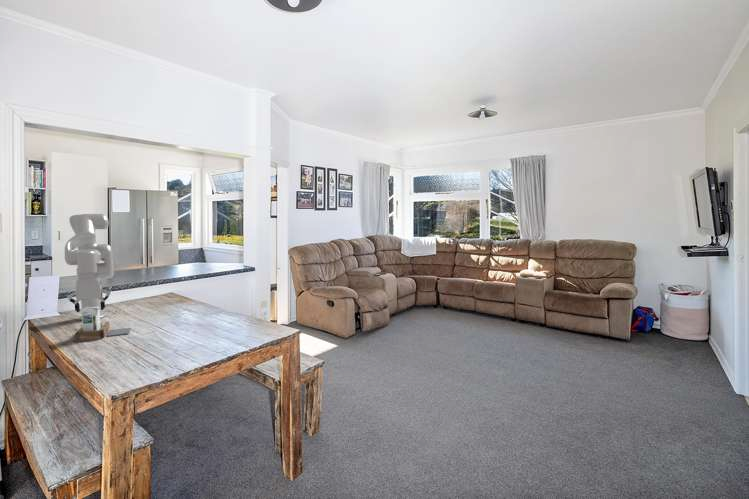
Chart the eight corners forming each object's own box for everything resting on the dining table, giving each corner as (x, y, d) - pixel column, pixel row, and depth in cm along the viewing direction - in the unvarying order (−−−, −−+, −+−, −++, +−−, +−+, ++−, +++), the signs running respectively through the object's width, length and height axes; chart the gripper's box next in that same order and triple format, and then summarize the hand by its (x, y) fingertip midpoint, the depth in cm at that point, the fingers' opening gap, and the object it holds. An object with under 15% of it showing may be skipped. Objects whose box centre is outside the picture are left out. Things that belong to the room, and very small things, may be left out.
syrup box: (83, 339, 186) (80, 309, 184) (88, 335, 192) (86, 306, 190) (96, 338, 187) (94, 309, 186) (101, 334, 193) (99, 306, 192)
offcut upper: (88, 327, 196) (87, 323, 195) (102, 325, 198) (102, 321, 198) (86, 329, 191) (85, 325, 191) (100, 328, 194) (100, 324, 194)
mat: (110, 331, 198) (110, 330, 198) (130, 328, 202) (130, 327, 202) (107, 336, 189) (107, 335, 189) (128, 334, 193) (128, 332, 193)
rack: (83, 332, 196) (83, 324, 196) (109, 329, 201) (108, 321, 201) (75, 341, 182) (75, 333, 182) (103, 338, 187) (103, 330, 187)
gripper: (110, 273, 193) (112, 307, 195) (67, 276, 186) (70, 311, 187) (107, 275, 187) (110, 310, 188) (63, 278, 179) (66, 314, 180)
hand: (90, 310), depth 188 cm, fingers open, 9 cm apart
